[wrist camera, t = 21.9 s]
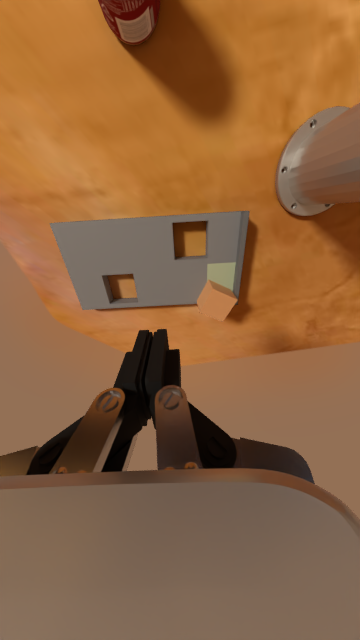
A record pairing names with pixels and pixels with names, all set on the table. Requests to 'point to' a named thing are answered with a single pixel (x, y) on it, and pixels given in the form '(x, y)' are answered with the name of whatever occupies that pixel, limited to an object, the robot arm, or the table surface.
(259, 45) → the table surface
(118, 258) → the plate
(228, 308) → the block
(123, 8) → the soda can
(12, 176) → the table surface
